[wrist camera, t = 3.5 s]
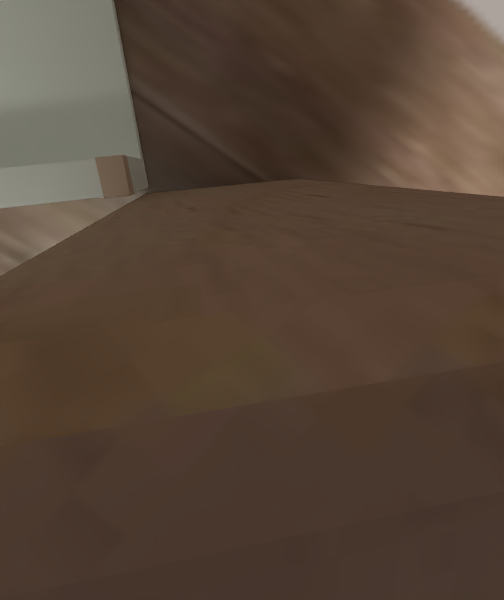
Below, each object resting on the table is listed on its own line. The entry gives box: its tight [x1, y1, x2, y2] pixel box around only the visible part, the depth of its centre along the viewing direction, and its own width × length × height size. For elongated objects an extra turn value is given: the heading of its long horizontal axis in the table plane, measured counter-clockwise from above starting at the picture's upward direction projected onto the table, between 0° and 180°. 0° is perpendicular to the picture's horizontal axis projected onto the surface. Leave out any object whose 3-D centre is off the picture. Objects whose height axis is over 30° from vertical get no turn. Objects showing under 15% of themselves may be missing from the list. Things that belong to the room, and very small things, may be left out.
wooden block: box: [0, 179, 504, 600], centre depth 13 cm, size 10×10×20 cm
